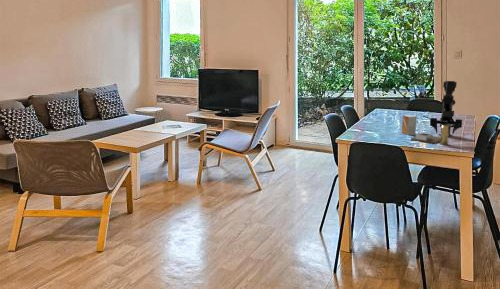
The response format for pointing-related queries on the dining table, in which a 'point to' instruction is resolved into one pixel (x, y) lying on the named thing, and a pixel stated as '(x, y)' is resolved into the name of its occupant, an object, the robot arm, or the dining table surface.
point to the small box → (409, 124)
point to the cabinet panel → (432, 141)
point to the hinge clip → (424, 136)
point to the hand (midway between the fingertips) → (444, 133)
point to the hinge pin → (444, 135)
